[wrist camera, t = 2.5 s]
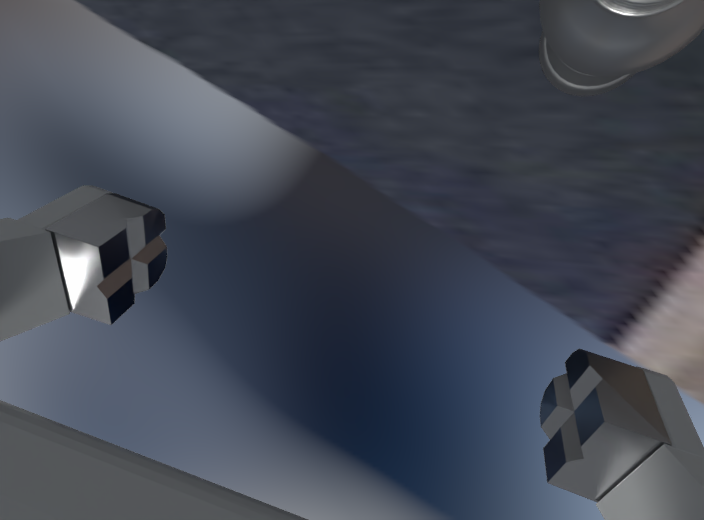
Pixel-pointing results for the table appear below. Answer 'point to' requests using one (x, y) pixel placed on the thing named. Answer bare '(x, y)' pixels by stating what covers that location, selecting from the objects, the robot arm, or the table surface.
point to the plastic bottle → (611, 39)
